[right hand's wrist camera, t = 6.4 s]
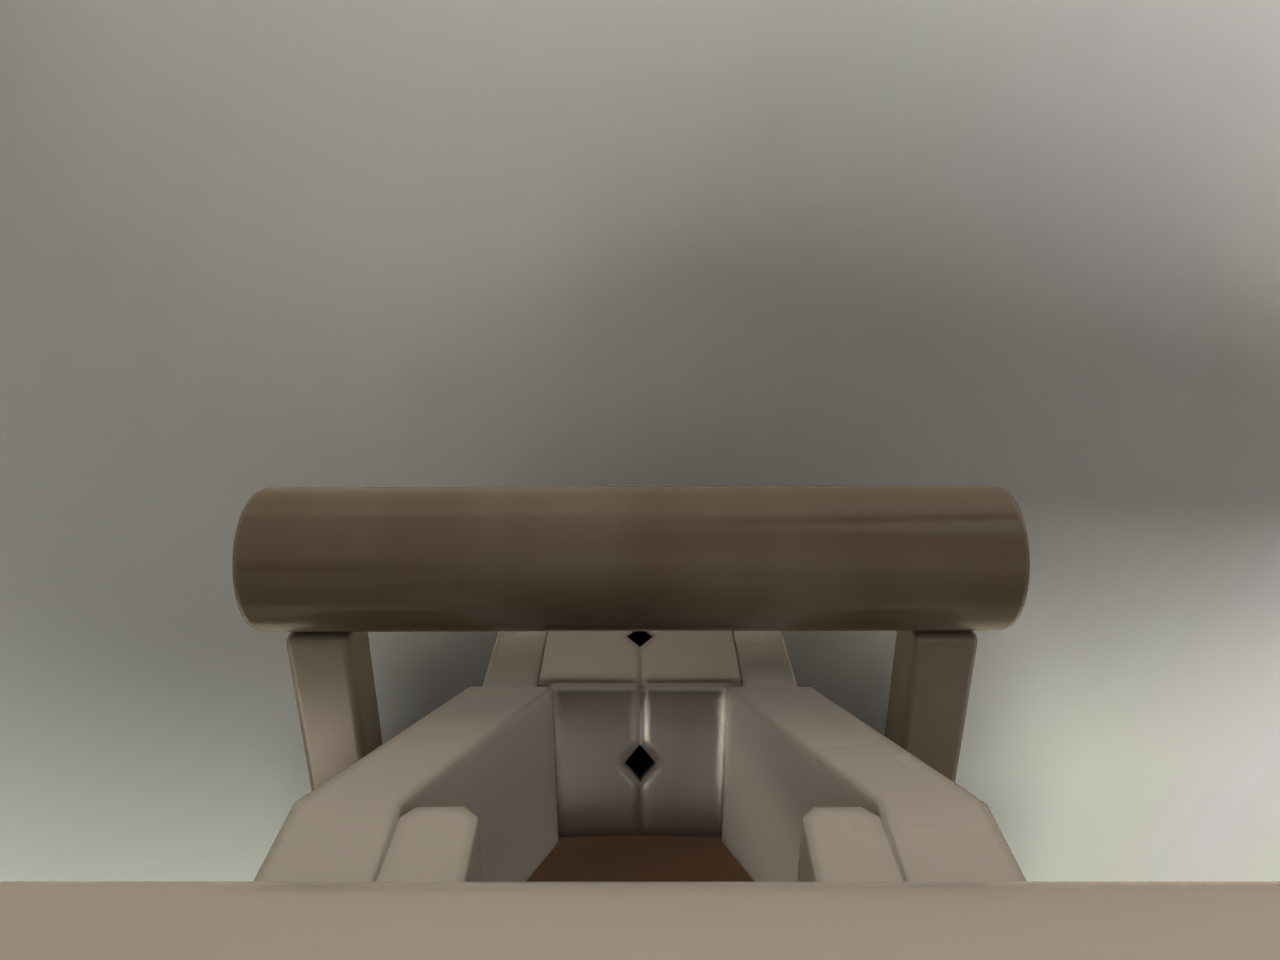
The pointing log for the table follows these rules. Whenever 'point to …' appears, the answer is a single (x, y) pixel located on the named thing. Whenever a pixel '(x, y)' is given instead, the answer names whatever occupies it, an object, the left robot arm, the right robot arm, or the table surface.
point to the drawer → (630, 598)
